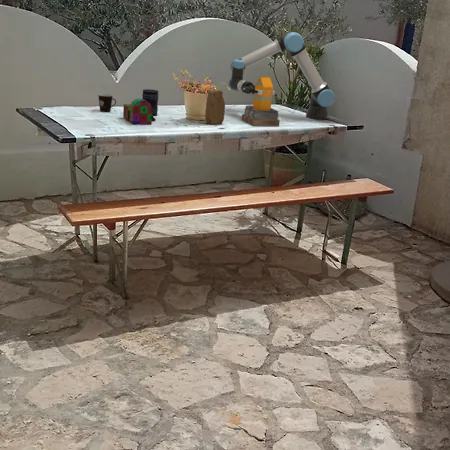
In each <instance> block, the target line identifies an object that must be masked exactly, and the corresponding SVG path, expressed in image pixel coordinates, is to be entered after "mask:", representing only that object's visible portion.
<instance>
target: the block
mask: <svg viewBox="0 0 450 450" xmlns="http://www.w3.org/2000/svg"><path fill="white" fill-rule="evenodd" d="M223 94H224V93H223V91H222V90H218V89H211V90H208V92H207V97H206V101H205V104H206V105H205V111H204V112H205V116H204V121H205V122H206V123H207V124H208V125H222V124H223V121H224V119H225V113H226V102H225V99H224V97H223V96H224V95H223Z"/></svg>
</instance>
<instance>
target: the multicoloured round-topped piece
mask: <svg viewBox="0 0 450 450" xmlns="http://www.w3.org/2000/svg"><path fill="white" fill-rule="evenodd" d="M122 109H123V112H122V116H123V117H122V118H123V119H124V120H125V121H127V122H128V123H130V125H133V126H134V125H135V126H136V125H138V126H139V125H140V126H142V125H143V126H145V125H146V126H149V125H150V126H151V125H152V123H153V122H156V118H155V116H152V106H151V104H150V103H149V102H147V101H146V100H144V99H142V98H140V97H139V98H136V99H134V100H132V101H131V103H123V108H122Z"/></svg>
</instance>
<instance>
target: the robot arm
mask: <svg viewBox="0 0 450 450" xmlns="http://www.w3.org/2000/svg"><path fill="white" fill-rule="evenodd" d="M286 51H287V52H288V54H289V57H290V58H293V59H294V60H295V62H296V63H297V65H298V66H299V69H300V70H301V72H302V74H303V75H304V77H305V79H306V80H307V82H308V84H309V86H310V87H311V91H310V92H311V94H310V101H309V107H308V108H307V111H306V113H305V117H306V118H309V119H312V120H320V119H321V120H322V119H325V120H328V117H329V116H328V110H327V109H328V108H327V107H330V106H332V105H333V103H334V102H335V99H336V95H335V93H334V91H333V90H332V89H331V88H330V85H329V84H328V82H326V81H324V80H323V78H322V76H321V75H320V73H319V71H318V70H317V68H316V66H315V65H314V62H313V61H312V59H311V57H310V55H309V54H308V52H307V46H306V44H305V42H304V38H303V36H302V35H301V34H300V33H298V32H295V31H288V32H285V33H283V34H281V35H280V36H278V37H276V38H275V39H274V41H272V42H270V43H268V44H266V45H265V46H262V47H260V48H258V49H256V50H254V51H252V52H250V53H249V54H246V55H245V56H242V57H240V58H239V59H233V61H232V62H231V63H230V65H229V67H230V71H231V77H230V78H229V79H228V81H227V87H228V88H229V89H231V90H233V91H236V92H241V93H242V94H243V93H244V94H248V95H249V94H251V95H254V93H255V94H259V95H262V93H263V91H262V90H258V89H255V84H254V83H253V82H251V81H248V80H243V79H244V73H245V72H244V70H245V69H247V68H250V67H251V66H254V65H256V64H258V63H259V62H262V61H264V60H265V59H267V58H270V57H272V56H274V55H275V54H278V53H283V52H286ZM275 93H276V90H274V89H273V93H272V96H275Z"/></svg>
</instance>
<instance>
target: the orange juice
mask: <svg viewBox="0 0 450 450" xmlns="http://www.w3.org/2000/svg"><path fill="white" fill-rule="evenodd" d="M272 82H273V81H272V80H271V77H270V76H261V77H259V79H258V80H257V82H256V83H255V84H254V86H255V89H258V90H262V91H263V93H262V95H259V94H255V93H254V94H253V100H252V106H253V109H256V110H271V108H272V102H273V101H272V100H273V95H272V93H273V90H274V85H273V83H272Z"/></svg>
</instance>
